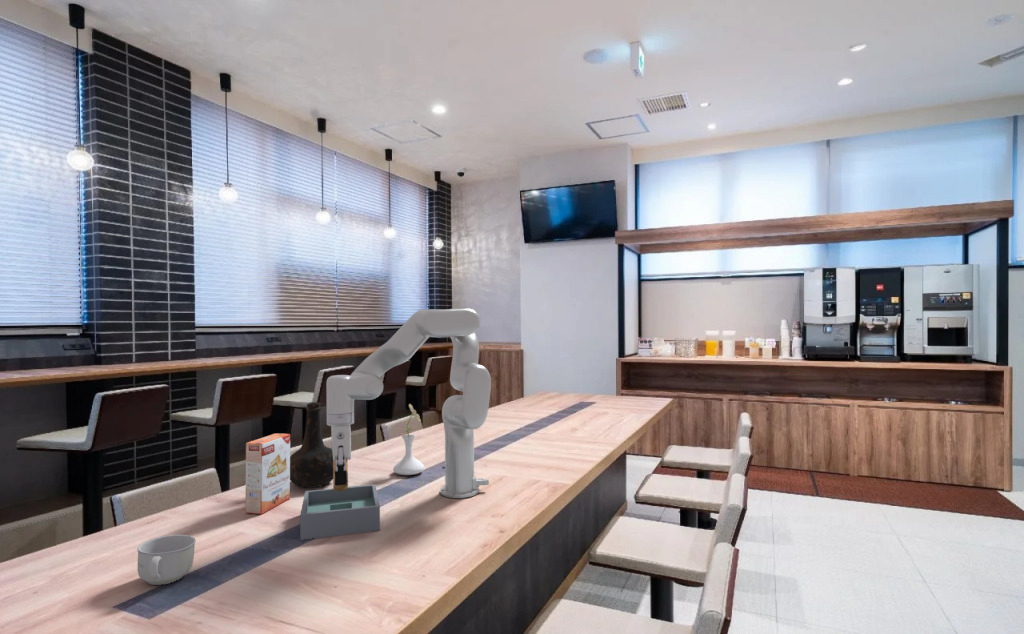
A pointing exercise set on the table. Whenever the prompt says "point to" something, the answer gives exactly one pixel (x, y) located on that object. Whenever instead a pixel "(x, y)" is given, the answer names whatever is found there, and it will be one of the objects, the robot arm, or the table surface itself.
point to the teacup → (165, 558)
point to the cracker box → (267, 473)
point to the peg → (338, 487)
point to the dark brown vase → (312, 454)
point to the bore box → (339, 512)
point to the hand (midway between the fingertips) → (340, 481)
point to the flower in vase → (409, 453)
